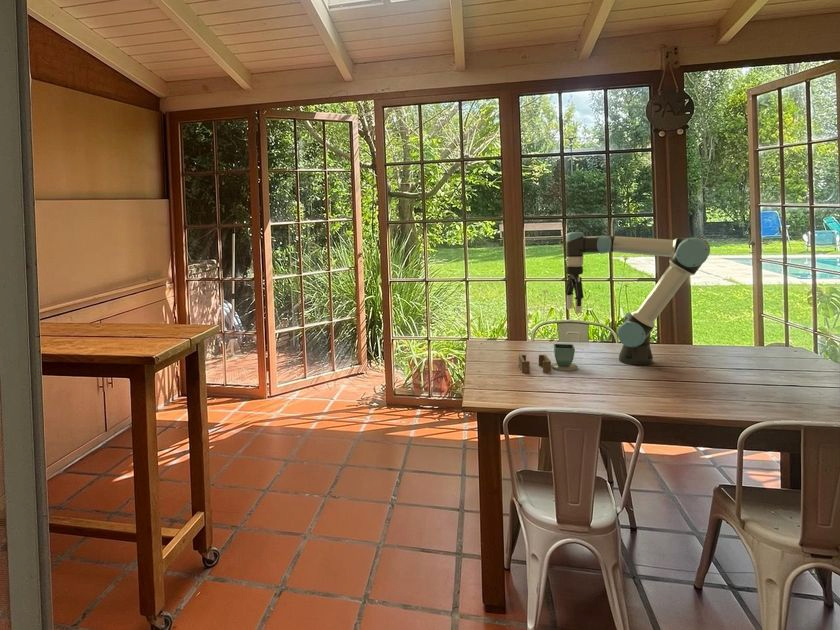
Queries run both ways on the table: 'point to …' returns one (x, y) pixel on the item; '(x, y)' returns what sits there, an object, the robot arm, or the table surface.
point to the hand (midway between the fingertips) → (573, 310)
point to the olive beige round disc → (564, 367)
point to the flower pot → (564, 354)
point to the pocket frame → (543, 362)
